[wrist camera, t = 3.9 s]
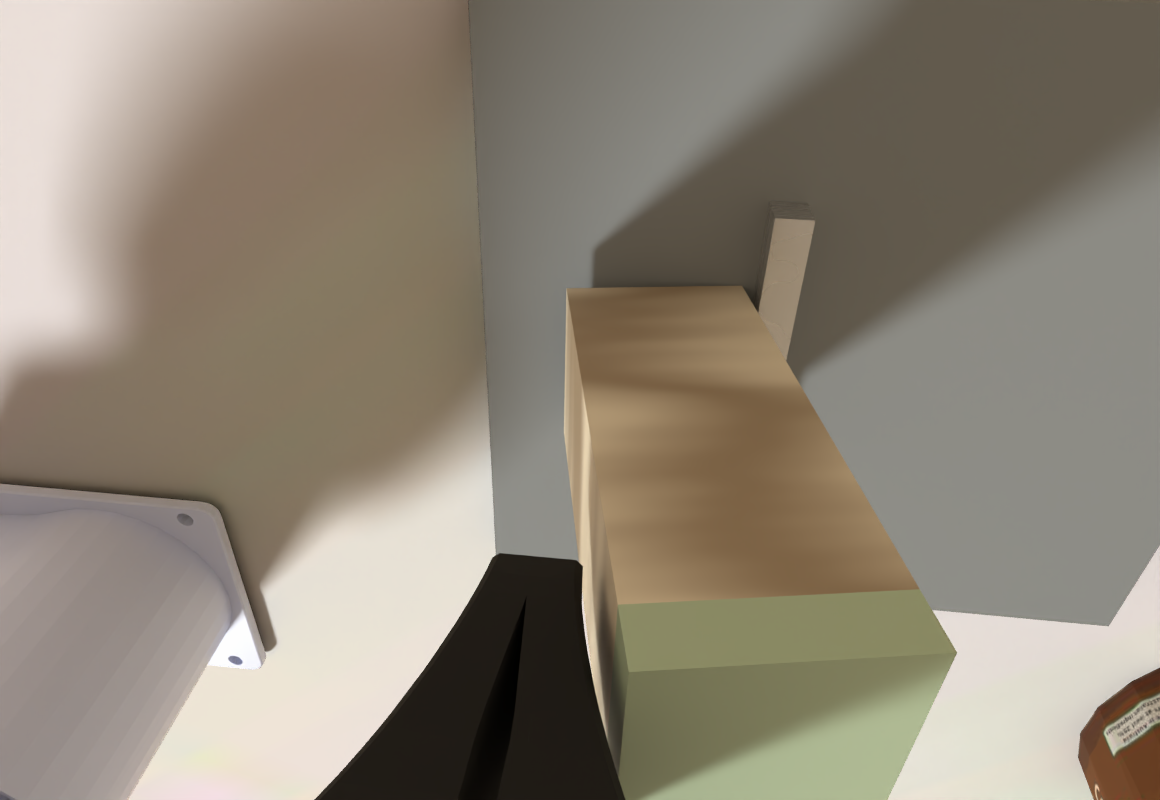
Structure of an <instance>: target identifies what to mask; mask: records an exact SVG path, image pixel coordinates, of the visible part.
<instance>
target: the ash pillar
mask: <svg viewBox="0 0 1160 800" xmlns="http://www.w3.org/2000/svg"><path fill="white" fill-rule="evenodd" d="M564 437H565V446H566V454H567V463H568V472H569V480H570V489H571V497H572V506H573V515H574V523H575V532H576V540H577V549H578V558H579V563H580V564H581V565H582V566H583V577H582V592H583V601H584V609H585V618H586V626H587V635H588V644H589V652H590V661H591V669H592V678H593V683H594V688H595V693H596V697H597V702H598V706H599V710H600V714H601V718H602V722H603V726H604V729H605V733H606V737H607V741H608V744H609V748H610V751H611V755H612V758H613V762H614V765H615V768H616V772H617V775H618V778H619V781H620V784H621V787H622V790H623V793H624V797H625V800H887V799H888V797H889V795H890V793H891V791H892V789H893V787H894V784H895V782H896V780H897V778H898V776H899V774H900V772H901V770H902V768H903V766H904V763H905V761H906V759H907V757H908V755H909V753H910V751H911V749H912V747H913V744H914V742H915V740H916V738H917V736H918V734H919V732H920V730H921V728H922V726H923V723H924V721H925V719H926V717H927V715H928V713H929V711H930V709H931V707H932V704H933V702H934V700H935V698H936V696H937V694H938V692H939V690H940V688H941V686H942V683H943V681H944V679H945V677H946V675H947V673H948V671H949V669H950V667H951V664H952V662H953V660H954V658H955V656H956V654H957V652H956V650H955V648H954V647H953V645H952V643H951V642H950V640H949V638H948V637H947V635H946V633H945V631H944V630H943V628H942V626H941V625H940V623H939V621H938V619H937V618H936V616H935V614H934V613H933V611H932V609H931V608H930V606H929V604H928V602H927V601H926V599H925V597H924V596H923V594H922V592H921V590H920V589H919V587H918V585H917V584H916V582H915V580H914V578H913V577H912V575H911V573H910V572H909V570H908V568H907V567H906V565H905V563H904V561H903V560H902V558H901V556H900V555H899V553H898V551H897V549H896V548H895V546H894V544H893V543H892V541H891V539H890V538H889V536H888V534H887V532H886V531H885V529H884V527H883V526H882V524H881V522H880V520H879V519H878V517H877V515H876V514H875V512H874V510H873V508H872V507H871V505H870V503H869V502H868V500H867V498H866V497H865V495H864V493H863V491H862V490H861V488H860V486H859V485H858V483H857V481H856V479H855V478H854V476H853V474H852V473H851V471H850V469H849V468H848V466H847V464H846V462H845V461H844V459H843V457H842V456H841V454H840V452H839V450H838V449H837V447H836V445H835V444H834V442H833V440H832V438H831V437H830V435H829V433H828V432H827V430H826V428H825V427H824V425H823V423H822V421H821V420H820V418H819V416H818V415H817V413H816V411H815V409H814V408H813V406H812V404H811V403H810V401H809V399H808V398H807V396H806V394H805V392H804V391H803V389H802V387H801V386H800V384H799V382H798V380H797V379H796V377H795V375H794V374H793V372H792V370H791V368H790V367H789V365H788V363H787V362H786V360H785V358H784V357H783V355H782V353H781V351H780V350H779V348H778V346H777V345H776V343H775V341H774V339H773V338H772V336H771V334H770V333H769V331H768V329H767V328H766V326H765V324H764V322H763V321H762V319H761V317H760V316H759V314H758V312H757V310H756V309H755V307H754V305H753V304H752V302H751V300H750V298H749V297H748V295H747V293H746V292H745V290H744V288H743V287H742V286H683V287H616V288H566V343H565V398H564Z"/></svg>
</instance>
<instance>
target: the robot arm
mask: <svg viewBox="0 0 1160 800" xmlns="http://www.w3.org/2000/svg"><path fill="white" fill-rule="evenodd" d="M582 577H583V566H582V565H581V564H580V563H579V562H578V561H577V560H571V559H560V558H549V557H538V556H527V555H516V554H505V553H499V554H497V555H496V556H494V557H493V558H492V560H491V562H490V564H489V566H488V568H487V570H486V572H485V574H484V576H483V578H482V580H481V581H480V583H479V585H478V587H477V589H476V590H475V592H474V594H473V596H472V597H471V599H470V601H469V602H468V604H467V606H466V607H465V609H464V611H463V612H462V614H461V615H460V617H459V619H458V620H457V622H456V623H455V625H454V626H453V628H452V629H451V631H450V632H449V634H448V635H447V637H446V638H445V640H444V641H443V643H442V644H441V646H440V647H439V649H438V650H437V652H436V653H435V655H434V656H433V658H432V659H431V661H430V662H429V663H428V665H427V666H426V668H425V669H424V670H423V672H422V673H421V674H420V676H419V677H418V678H417V680H416V681H415V682H414V684H413V685H412V686H411V688H410V689H409V690H408V692H407V693H406V694H405V696H404V697H403V698H402V699H401V701H400V702H399V703H398V705H397V706H396V707H395V709H394V710H393V711H392V713H391V714H390V715H389V716H388V718H387V719H386V720H385V721H384V722H383V724H382V725H381V726H380V727H379V729H378V730H377V731H376V732H375V733H374V735H373V736H372V737H371V738H370V739H369V741H368V742H367V743H366V744H365V745H364V746H363V748H362V749H361V750H360V751H359V752H358V753H357V754H356V755H355V757H354V758H353V759H352V760H351V761H350V762H349V763H348V765H347V766H346V767H345V768H344V769H343V770H342V771H341V772H340V773H339V775H338V776H337V777H336V778H335V779H334V780H333V781H332V782H331V783H330V784H329V785H328V786H327V787H326V788H325V789H324V790H323V791H322V792H321V793H320V795H319V796H318V797H317V798H316V799H315V800H625V797H624V793H623V790H622V787H621V784H620V781H619V778H618V775H617V772H616V768H615V765H614V762H613V758H612V755H611V751H610V748H609V744H608V741H607V737H606V733H605V729H604V726H603V722H602V718H601V714H600V710H599V706H598V702H597V697H596V693H595V688H594V683H593V678H592V673H591V668H590V663H589V658H588V653H587V646H586V640H585V632H584V624H583V615H582ZM265 659H266V653H265V650H264V647H263V644H262V641H261V638H260V635H259V632H258V629H257V625H256V622H255V619H254V616H253V613H252V610H251V607H250V604H249V600H248V597H247V594H246V591H245V588H244V585H243V582H242V579H241V576H240V572H239V569H238V566H237V563H236V560H235V557H234V554H233V551H232V547H231V544H230V541H229V538H228V535H227V532H226V529H225V526H224V523H223V519H222V516H221V514H220V512H219V510H218V509H217V508H216V507H215V506H213V505H211V504H209V503H206V502H199V501H188V500H177V499H166V498H154V497H143V496H132V495H121V494H110V493H98V492H87V491H76V490H65V489H54V488H42V487H31V486H20V485H9V484H0V800H128V799H129V797H130V796H131V794H132V792H133V790H134V789H135V787H136V785H137V784H138V782H139V780H140V779H141V777H142V775H143V773H144V772H145V770H146V768H147V767H148V765H149V763H150V762H151V760H152V758H153V756H154V755H155V753H156V751H157V750H158V748H159V746H160V745H161V743H162V741H163V739H164V738H165V736H166V734H167V733H168V731H169V729H170V728H171V726H172V724H173V722H174V721H175V719H176V717H177V716H178V714H179V712H180V711H181V709H182V707H183V705H184V704H185V702H186V700H187V699H188V697H189V695H190V694H191V692H192V690H193V688H194V687H195V685H196V683H197V682H198V680H199V678H200V677H201V675H202V673H203V671H204V670H205V668H206V666H207V665H214V666H224V667H233V668H243V669H258V668H261V666H262V665H263V663H264V661H265Z"/></svg>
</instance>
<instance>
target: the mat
mask: <svg viewBox="0 0 1160 800" xmlns="http://www.w3.org/2000/svg"><path fill="white" fill-rule="evenodd" d="M468 4H469V24H470V44H471V64H472V84H473V104H474V124H475V145H476V165H477V185H478V205H479V225H480V245H481V265H482V285H483V305H484V325H485V345H486V365H487V386H488V406H489V426H490V446H491V466H492V486H493V506H494V526H495V546H496V555H497V554H499V553H505V554H516V555H527V556H538V557H549V558H560V559H571V560H577V561H578V562H579V558H578V549H577V540H576V532H575V523H574V515H573V506H572V497H571V489H570V480H569V472H568V463H567V454H566V446H565V437H564V398H565V343H566V288H616V287H683V286H742V287H743V288H744V290H745V292H746V293H747V295H748V297H749V298H750V300H751V302H752V304H753V305H754V307H755V309H756V310H757V312H758V314H759V316H760V317H761V319H762V321H763V322H764V324H765V326H766V328H767V329H768V331H769V333H770V334H771V336H772V338H773V339H774V341H775V343H776V345H777V346H778V348H779V350H780V351H781V353H782V355H783V357H784V358H785V360H786V362H787V363H788V365H789V367H790V368H791V370H792V372H793V374H794V375H795V377H796V379H797V380H798V382H799V384H800V386H801V387H802V389H803V391H804V392H805V394H806V396H807V398H808V399H809V401H810V403H811V404H812V406H813V408H814V409H815V411H816V413H817V415H818V416H819V418H820V420H821V421H822V423H823V425H824V427H825V428H826V430H827V432H828V433H829V435H830V437H831V438H832V440H833V442H834V444H835V445H836V447H837V449H838V450H839V452H840V454H841V456H842V457H843V459H844V461H845V462H846V464H847V466H848V468H849V469H850V471H851V473H852V474H853V476H854V478H855V479H856V481H857V483H858V485H859V486H860V488H861V490H862V491H863V493H864V495H865V497H866V498H867V500H868V502H869V503H870V505H871V507H872V508H873V510H874V512H875V514H876V515H877V517H878V519H879V520H880V522H881V524H882V526H883V527H884V529H885V531H886V532H887V534H888V536H889V538H890V539H891V541H892V543H893V544H894V546H895V548H896V549H897V551H898V553H899V555H900V556H901V558H902V560H903V561H904V563H905V565H906V567H907V568H908V570H909V572H910V573H911V575H912V577H913V578H914V580H915V582H916V584H917V585H918V587H919V589H920V590H921V592H922V594H923V596H924V597H925V599H926V601H927V602H928V604H929V606H930V608H931V609H932V610H940V611H951V612H961V613H972V614H983V615H994V616H1004V617H1015V618H1026V619H1037V620H1047V621H1058V622H1069V623H1080V624H1090V625H1101V626H1109V625H1110V623H1111V622H1112V620H1113V618H1114V617H1115V615H1116V614H1117V612H1118V610H1119V609H1120V607H1121V606H1122V604H1123V603H1124V601H1125V599H1126V598H1127V596H1128V595H1129V593H1130V591H1131V590H1132V588H1133V587H1134V585H1135V583H1136V582H1137V580H1138V579H1139V577H1140V576H1141V574H1142V572H1143V571H1144V569H1145V568H1146V566H1147V564H1148V563H1149V561H1150V560H1151V558H1152V557H1153V555H1154V553H1155V552H1156V550H1157V549H1158V547H1159V545H1160V0H468Z"/></svg>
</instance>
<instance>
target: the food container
mask: <svg viewBox="0 0 1160 800" xmlns="http://www.w3.org/2000/svg"><path fill="white" fill-rule="evenodd" d="M1078 758H1079V761H1080V764H1081V766H1082V769H1083V772H1084V774H1085V777H1086V780H1087V782H1088V785H1089V788H1090V791H1091V793H1092V796H1093V799H1094V800H1160V668H1159V669H1157V670H1155V671H1153V672H1151V673H1149V674H1147V675H1144V676H1142V677H1140V678H1138V679H1136V680H1134V681H1132V682H1131V683H1129V684H1128V685H1127V686H1125V687H1124V688H1123V689H1121V690H1120V691H1119V692H1117V693H1116V694H1115V695H1114V696H1112V697H1111V698H1110V699H1108V700H1107V701H1106V702H1104V703H1103V704H1102V705H1100V706H1099V707H1098V708H1097V710H1096V711H1095V713H1094V714H1093V715H1092V717H1091V718H1090V720H1089V721H1088V723H1087V724H1086V726H1085V727H1084V729H1083V730H1082V732H1081V733H1080V743H1079V754H1078Z"/></svg>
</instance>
